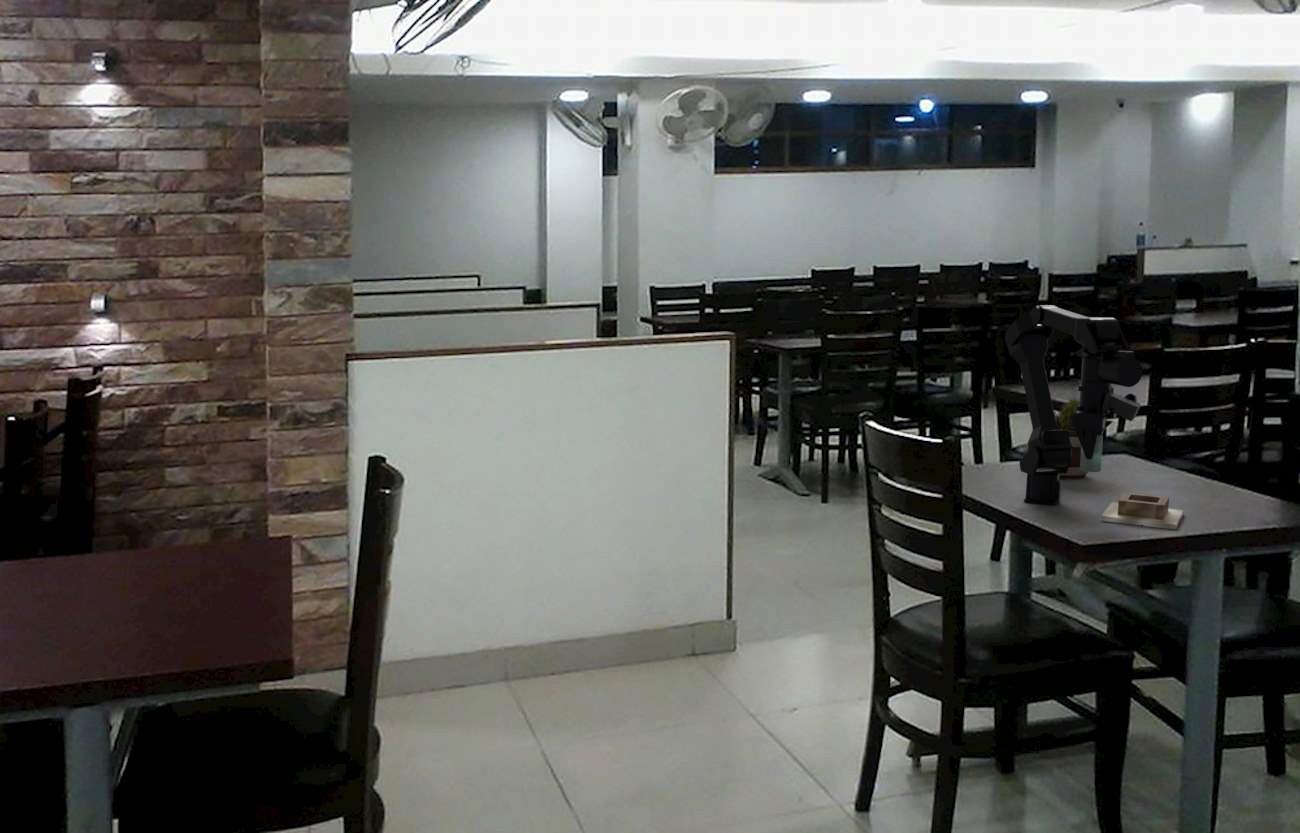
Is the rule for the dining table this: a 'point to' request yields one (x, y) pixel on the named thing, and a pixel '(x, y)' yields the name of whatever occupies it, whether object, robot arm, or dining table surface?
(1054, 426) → the robot arm
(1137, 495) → the socket board
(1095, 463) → the peg
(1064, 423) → the flowerpot
